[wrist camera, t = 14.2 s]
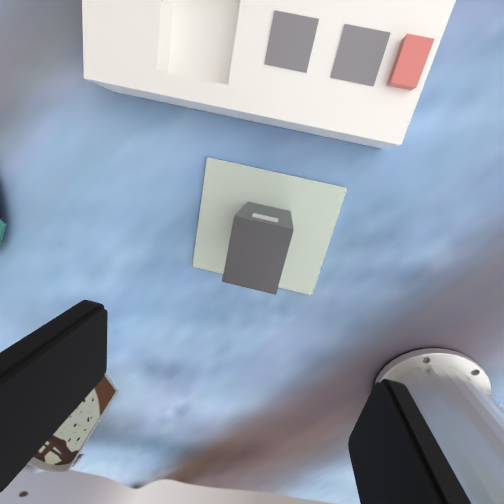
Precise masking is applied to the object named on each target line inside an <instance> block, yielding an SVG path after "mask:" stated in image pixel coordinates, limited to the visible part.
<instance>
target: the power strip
mask: <svg viewBox="0 0 504 504" xmlns="http://www.w3.org/2000/svg"><path fill="white" fill-rule="evenodd" d="M455 1H456V0H82V14H83V62H84V79H87V80H89V81H91V82H93V83H96V84H98V85H100V86H102V87H105V88H107V89H109V90H111V91H113V92H117V93H122V94H126V95H131V96H136V97H140V98H145V99H150V100H154V101H159V102H164V103H169V104H173V105H178V106H183V107H187V108H192V109H197V110H202V111H206V112H211V113H216V114H220V115H225V116H230V117H235V118H239V119H244V120H249V121H253V122H258V123H263V124H267V125H272V126H277V127H282V128H286V129H291V130H296V131H300V132H305V133H310V134H315V135H319V136H324V137H329V138H333V139H338V140H343V141H348V142H352V143H357V144H362V145H366V146H371V147H376V148H380V149H383V148H389V147H394V146H399V145H401V144H402V141H403V138H404V136H405V133H406V131H407V128H408V125H409V123H410V120H411V117H412V115H413V112H414V109H415V107H416V104H417V101H418V99H419V96H420V93H421V91H422V88H423V86H424V83H425V80H426V78H427V75H428V72H429V70H430V67H431V64H432V62H433V59H434V56H435V54H436V51H437V49H438V46H439V43H440V41H441V38H442V35H443V33H444V30H445V27H446V25H447V22H448V19H449V17H450V14H451V11H452V9H453V6H454V4H455Z"/></svg>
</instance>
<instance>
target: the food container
mask: <svg viewBox="0 0 504 504" xmlns="http://www.w3.org/2000/svg"><path fill="white" fill-rule="evenodd" d="M117 392H118V389H117V388H116V387H115V385H114V384H113V383H112V381H111V380H110V378H109V377H108V376H107V374H106V373H105V375H104V377H103V379H102V380H101V381H100V382H99V383H98V384H97V386H96V387H95V388H94V389H93V390H92V391H91V392H90V393H89V395H88V396H87V397H86V398H85V399H84V400H83V401H82V403H81V404H80V405H79V406H78V407H77V408H76V409H75V410H74V412H73V413H72V414H71V415H70V416H69V417H68V418H67V419H66V421H65V422H64V423H63V424H62V425H61V426H60V427H59V428H58V430H57V431H56V432H55V433H54V434H53V435H52V436H51V437H50V439H49V440H48V441H47V442H46V443H45V444H44V445H43V446H42V448H41V449H40V450H39V451H38V452H37V453H36V454H35V455H34V457H33V458H32V459H31V460H30V461H29V462H28V463H27V464H29V465H31V466H33V467H36V468H39V469H42V470H46V471H52V472H66V471H68V470H69V469H70V468H71V467H73V466H74V465H75V464H76V463H77V462H78V461H79V460H80V459H81V458H82V457H83V456H84V454H80V452H81V450H82V449H83V447H84V445H85V444H86V442H87V440H88V439H89V437H90V436H91V434H92V432H93V431H94V429H95V427H96V426H97V424H98V423H99V421H100V419H101V418H102V416H103V414H104V413H105V411H106V410H107V408H108V406H109V405H110V403H111V401H112V400H113V398H114V396H115V395H116V393H117Z"/></svg>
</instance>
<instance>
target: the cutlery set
mask: <svg viewBox="0 0 504 504" xmlns="http://www.w3.org/2000/svg"><path fill="white" fill-rule="evenodd" d="M6 226H7V224H5V223H4V222H3V221H2V220H1V214H0V246H1V245H2V242H3V239H4V233H5V232H6Z"/></svg>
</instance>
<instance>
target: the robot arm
mask: <svg viewBox="0 0 504 504" xmlns="http://www.w3.org/2000/svg"><path fill="white" fill-rule="evenodd" d="M106 367H107V310H105V309H104V306H103V304H100V303H96V302H93V301H89V300H83V301H81V302H80V303H78V304H76V305H75V306H73V307H72V308H70V309H69V310H67V311H65V312H64V313H62V314H61V315H59V316H57V317H56V318H54V319H53V320H51V321H50V322H48V323H46V324H45V325H43V326H42V327H40V328H39V329H37V330H35V331H34V332H32V333H31V334H29V335H27V336H26V337H24V338H23V339H21V340H20V341H18V342H16V343H15V344H13V345H12V346H10V347H8V348H7V349H5V350H4V351H2V352H1V353H0V492H2V491H3V490H4V489H5V488H6V487H7V486H8V485H9V483H10V482H11V481H12V480H13V479H14V478H15V477H16V476H17V474H18V473H19V472H20V471H21V470H22V469H23V468H24V467H25V466H26V464H27V463H28V462H29V461H30V460H31V459H32V458H33V457H34V455H35V454H36V453H37V452H38V451H39V450H40V449H41V448H42V446H43V445H44V444H45V443H46V442H47V441H48V440H49V439H50V437H51V436H52V435H53V434H54V433H55V432H56V431H57V430H58V428H59V427H60V426H61V425H62V424H63V423H64V422H65V421H66V419H67V418H68V417H69V416H70V415H71V414H72V413H73V412H74V410H75V409H76V408H77V407H78V406H79V405H80V404H81V403H82V401H83V400H84V399H85V398H86V397H87V396H88V395H89V393H90V392H91V391H92V390H93V389H94V388H95V387H96V386H97V384H98V383H99V382H100V381H101V380H102V379H103V377H104V375H105V373H106ZM348 446H349V453H350V458H351V462H352V467H353V471H354V476H355V480H356V485H357V489H358V494H359V498H360V503H361V504H504V410H503V409H502V408H501V407H500V406H499V405H498V404H497V402H496V401H495V400H494V399H493V398H492V397H491V383H490V381H489V378H488V376H487V375H486V373H485V372H484V370H483V369H482V368H481V367H480V366H479V365H478V364H477V363H476V362H475V361H474V360H472V359H471V358H469V357H468V356H466V355H464V354H461V353H459V352H457V351H452V350H448V349H440V348H429V349H420V350H416V351H412V352H409V353H406V354H403V355H401V356H399V357H398V358H396V359H394V360H392V361H391V362H390V363H389V364H387V365H386V366H385V367H384V368H383V369H382V371H381V372H380V373H379V375H378V377H377V378H376V381H375V384H374V388H373V390H372V392H371V394H370V396H369V398H368V400H367V402H366V404H365V406H364V408H363V410H362V412H361V414H360V416H359V419H358V421H357V423H356V425H355V427H354V429H353V431H352V433H351V435H350V437H349V443H348Z"/></svg>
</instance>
